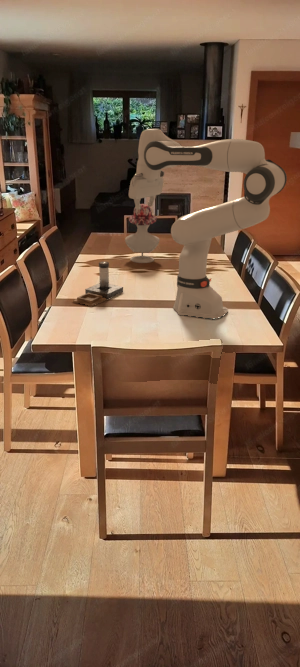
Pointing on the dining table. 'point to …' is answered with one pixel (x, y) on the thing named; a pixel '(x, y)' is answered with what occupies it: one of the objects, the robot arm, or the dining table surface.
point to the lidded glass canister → (104, 275)
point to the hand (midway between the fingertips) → (144, 207)
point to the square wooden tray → (89, 299)
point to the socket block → (105, 291)
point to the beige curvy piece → (142, 234)
